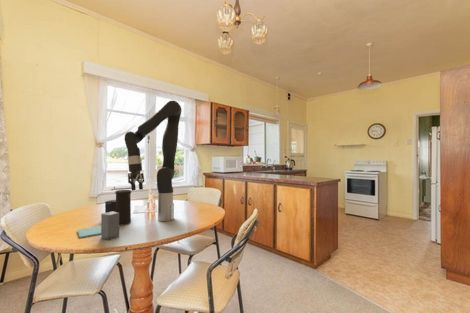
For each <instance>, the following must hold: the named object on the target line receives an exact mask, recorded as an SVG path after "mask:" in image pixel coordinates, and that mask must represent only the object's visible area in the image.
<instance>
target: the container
mask: <svg viewBox="0 0 470 313" xmlns="http://www.w3.org/2000/svg"><path fill="white" fill-rule="evenodd" d="M114 194H115V200H116V212H118V213H119V226H124V225H128V224H130V223H131V222H132V221H131V220H132V218H131V217H132V213H131V211H132V209H131V207H132V206H131V204H132V203H131V194H132V190H130V189H118V190H115V192H114Z"/></svg>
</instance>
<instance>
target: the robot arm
mask: <svg viewBox="0 0 470 313" xmlns="http://www.w3.org/2000/svg"><path fill="white" fill-rule="evenodd" d="M181 115H182V106H181V105H180V103H179V102H177V101H176V100H170V101H168V102H166V103H165V104H164V105H163V106H162V107H161V108H160V109H159V110H158V111H157V112H156V113H155V114H153V115H152V116H151V117H150V118H148V119H146V121H144V122H143V123H142V124H140V125H139V126H138V127H137V130H136V131H135V132H134V131H127V132H126V133H125V134H124V143H125V148H126V150H127V162H128V163H127V164H128V173H127V180H128V181H127V182H128V184H130V187H131V191H136V189H137V188H136V182H137V183H138V190H144V185H143V184H144V183H145V175H144V172H142V171H143V164H142V157H141V150H140V147H138V144H139V143H141V142H142V140H143V139H145V137H146V136H147V135H149V134H150V133H151V132H153V131H154V130H156V129H157V128H158V127H159V126H160V125H161V124H162V123H163V122H164V121H165V120H167V122H166V127H165V130H164V131H163V134H162V140H161V142H162V143H161V150H162V159H163V160H162V165H161V167H160V168H159V169H158V170H157V173H156V188H157V189H156V190H157V220H158V222H168V221H169V222H170V221H173V219H175V203H174V187H173V178H174V177H175V160H176V154H177V148H178V140H179V139H178V138H179V125H180V119H181Z"/></svg>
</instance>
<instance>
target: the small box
mask: <svg viewBox="0 0 470 313" xmlns="http://www.w3.org/2000/svg"><path fill="white" fill-rule="evenodd" d="M104 204H105V206H104V208H105V210H104V213H107V212H112V211H113V212H116V199H111V200H106V201H104Z"/></svg>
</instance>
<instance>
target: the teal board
mask: <svg viewBox="0 0 470 313" xmlns="http://www.w3.org/2000/svg"><path fill="white" fill-rule="evenodd" d="M77 235H78V237H79V239H85V238H90V237H94V236H101V225H99V226H94V227H86V228H81V229H77Z"/></svg>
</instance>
